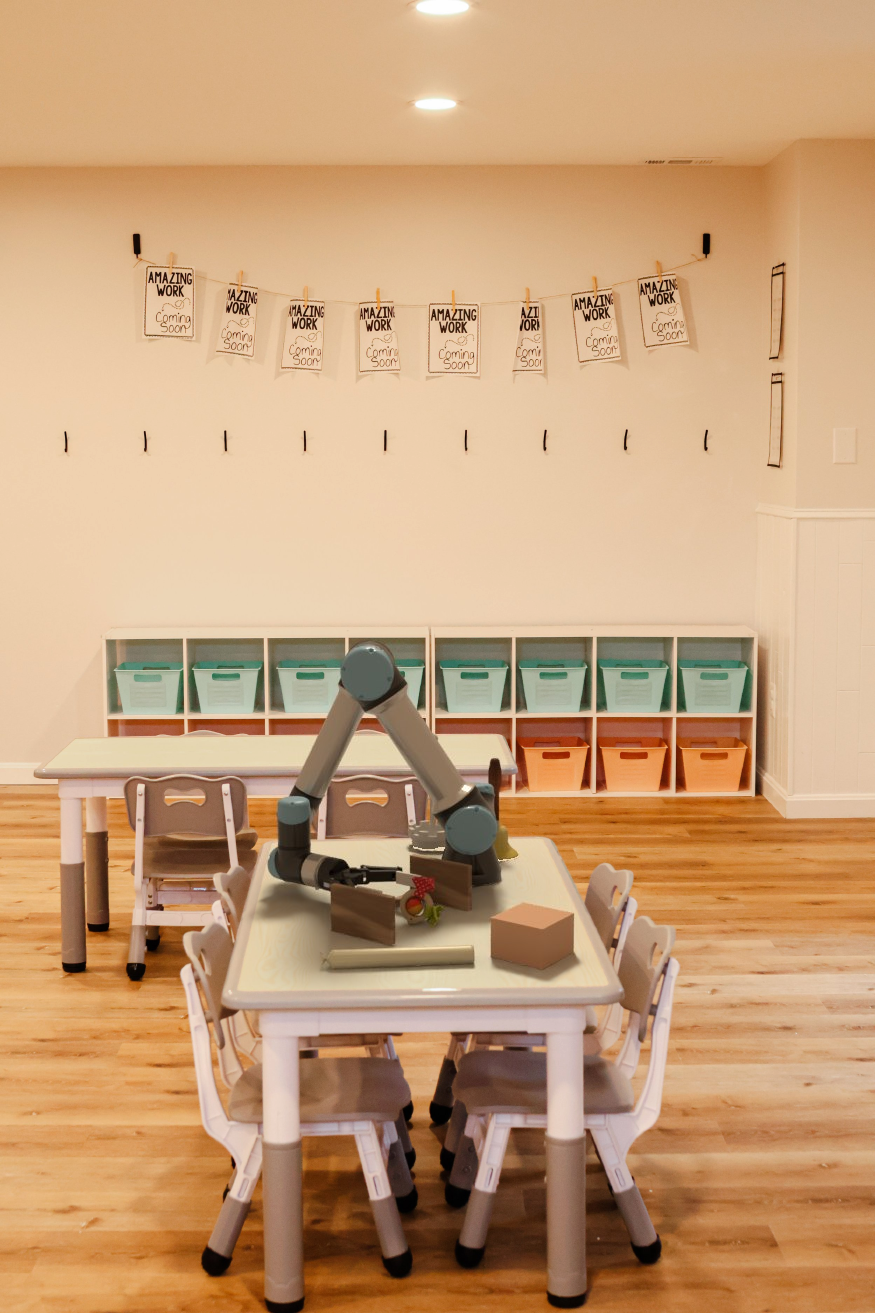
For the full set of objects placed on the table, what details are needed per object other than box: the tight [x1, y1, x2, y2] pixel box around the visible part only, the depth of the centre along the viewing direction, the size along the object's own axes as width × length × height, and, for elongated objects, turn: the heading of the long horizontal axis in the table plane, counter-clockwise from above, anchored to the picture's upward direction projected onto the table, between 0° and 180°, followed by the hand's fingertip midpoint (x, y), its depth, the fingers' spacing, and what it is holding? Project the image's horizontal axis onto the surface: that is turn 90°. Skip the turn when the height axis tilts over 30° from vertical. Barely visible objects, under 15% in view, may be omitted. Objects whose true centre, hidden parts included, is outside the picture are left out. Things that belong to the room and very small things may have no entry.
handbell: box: [487, 757, 519, 860], centre depth 330 cm, size 12×12×25 cm
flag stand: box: [407, 732, 445, 849], centre depth 339 cm, size 13×13×30 cm
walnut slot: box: [329, 853, 473, 947], centre depth 281 cm, size 29×16×10 cm, turn 144°
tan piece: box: [320, 944, 476, 970], centre depth 254 cm, size 4×30×4 cm, turn 95°
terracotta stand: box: [490, 902, 575, 970], centre depth 260 cm, size 12×12×8 cm
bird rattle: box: [399, 876, 445, 928], centre depth 278 cm, size 6×11×9 cm
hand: (401, 889), depth 280 cm, fingers open, 13 cm apart
